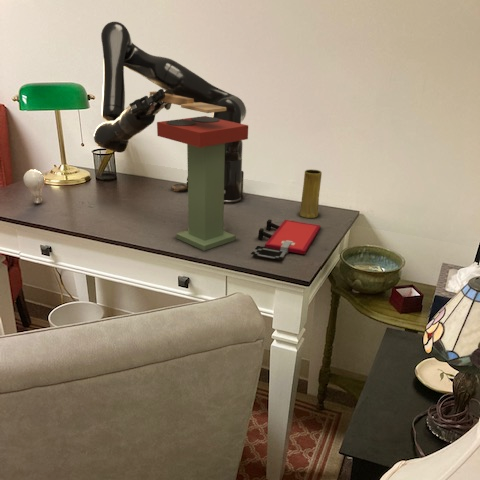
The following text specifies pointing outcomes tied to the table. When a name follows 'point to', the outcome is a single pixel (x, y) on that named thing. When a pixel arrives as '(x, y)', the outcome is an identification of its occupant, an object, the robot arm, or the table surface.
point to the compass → (180, 187)
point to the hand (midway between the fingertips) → (167, 92)
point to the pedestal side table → (204, 174)
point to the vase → (310, 194)
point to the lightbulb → (34, 184)
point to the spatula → (190, 103)
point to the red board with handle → (286, 239)
